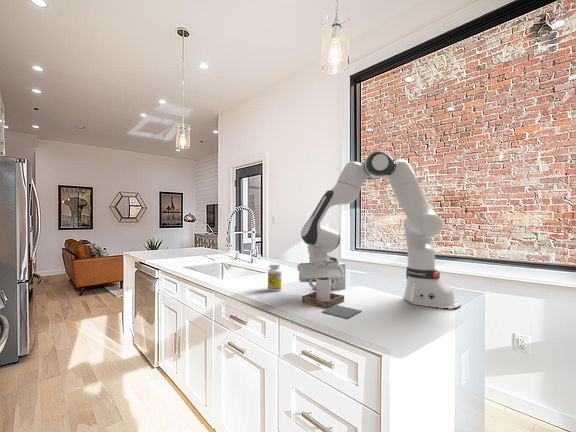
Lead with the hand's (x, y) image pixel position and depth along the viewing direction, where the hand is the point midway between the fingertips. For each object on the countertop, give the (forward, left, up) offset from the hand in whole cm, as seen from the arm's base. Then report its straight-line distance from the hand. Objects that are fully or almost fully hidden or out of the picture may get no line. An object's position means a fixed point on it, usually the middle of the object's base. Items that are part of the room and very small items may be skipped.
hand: (323, 289), depth 130 cm
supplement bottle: (+29, -1, -6) cm, 30 cm away
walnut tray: (0, 0, -5) cm, 5 cm away
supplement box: (+9, -26, -6) cm, 29 cm away
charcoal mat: (-13, +7, -5) cm, 15 cm away
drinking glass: (0, 0, -6) cm, 6 cm away
